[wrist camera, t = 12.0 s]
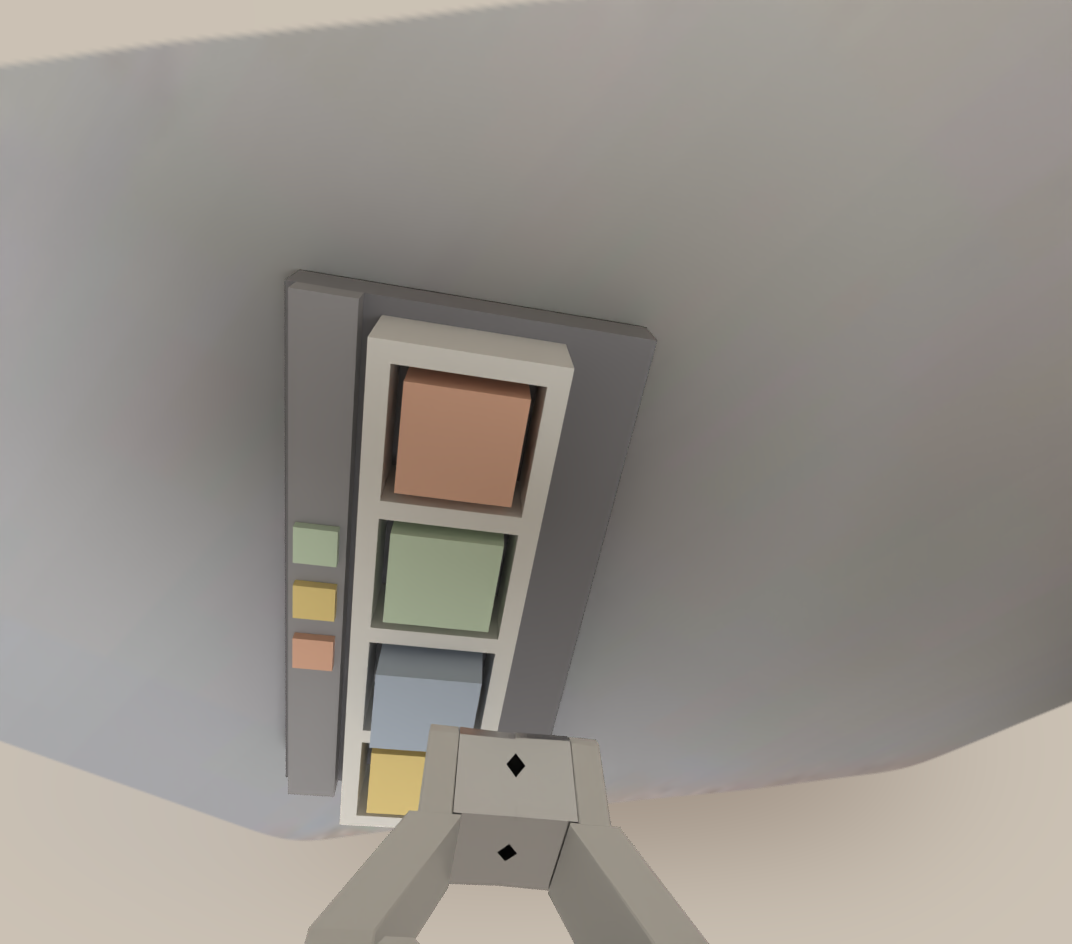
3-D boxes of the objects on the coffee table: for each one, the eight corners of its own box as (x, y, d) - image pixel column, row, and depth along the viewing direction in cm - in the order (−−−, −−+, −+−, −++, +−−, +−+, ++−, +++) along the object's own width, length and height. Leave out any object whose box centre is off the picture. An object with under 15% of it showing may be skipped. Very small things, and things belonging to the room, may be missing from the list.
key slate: (482, 642, 29) (482, 683, 27) (470, 710, 31) (468, 754, 28) (384, 632, 28) (375, 674, 26) (378, 703, 30) (369, 747, 28)
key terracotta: (527, 376, 24) (531, 400, 22) (509, 476, 26) (511, 507, 24) (412, 358, 24) (403, 381, 21) (402, 462, 26) (393, 493, 23)
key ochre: (466, 718, 33) (464, 759, 30) (456, 774, 34) (454, 817, 32) (379, 710, 32) (371, 753, 30) (374, 769, 34) (366, 813, 32)
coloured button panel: (646, 327, 26) (677, 364, 22) (534, 762, 38) (539, 843, 34) (299, 269, 24) (256, 297, 20) (296, 746, 37) (268, 829, 32)
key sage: (503, 513, 27) (503, 546, 25) (488, 594, 29) (488, 632, 27) (399, 500, 26) (390, 533, 24) (391, 584, 28) (382, 622, 26)
